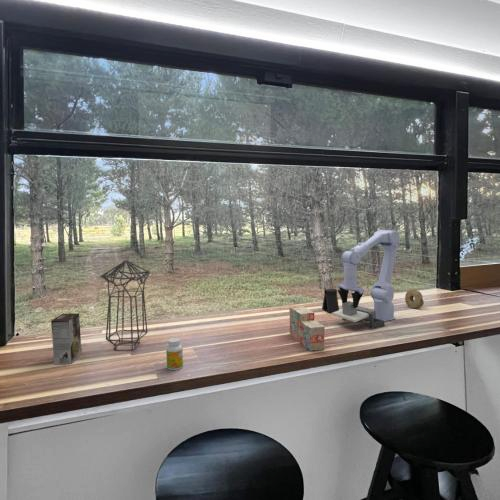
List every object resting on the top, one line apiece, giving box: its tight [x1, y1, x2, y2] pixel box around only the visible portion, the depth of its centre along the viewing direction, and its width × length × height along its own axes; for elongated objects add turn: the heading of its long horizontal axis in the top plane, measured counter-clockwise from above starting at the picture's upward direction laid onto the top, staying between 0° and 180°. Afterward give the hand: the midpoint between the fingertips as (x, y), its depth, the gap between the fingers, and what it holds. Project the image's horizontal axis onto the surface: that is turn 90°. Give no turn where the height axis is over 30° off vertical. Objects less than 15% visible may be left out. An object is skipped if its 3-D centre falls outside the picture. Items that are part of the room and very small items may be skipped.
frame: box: [341, 311, 386, 330], centre depth 164 cm, size 9×18×7 cm, turn 31°
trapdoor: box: [331, 305, 376, 323], centre depth 161 cm, size 15×14×4 cm
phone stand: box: [321, 288, 340, 314], centre depth 186 cm, size 9×6×12 cm, turn 13°
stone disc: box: [404, 289, 425, 309], centre depth 189 cm, size 10×4×10 cm, turn 26°
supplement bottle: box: [165, 337, 184, 371], centre depth 118 cm, size 5×5×10 cm
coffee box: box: [50, 313, 83, 366], centre depth 125 cm, size 9×6×16 cm
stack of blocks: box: [289, 305, 326, 352], centre depth 141 cm, size 21×6×12 cm, turn 14°
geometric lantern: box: [99, 260, 151, 352], centre depth 136 cm, size 16×16×35 cm
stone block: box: [341, 300, 357, 316], centre depth 159 cm, size 4×4×5 cm
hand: (350, 306), depth 159 cm, fingers open, 6 cm apart
